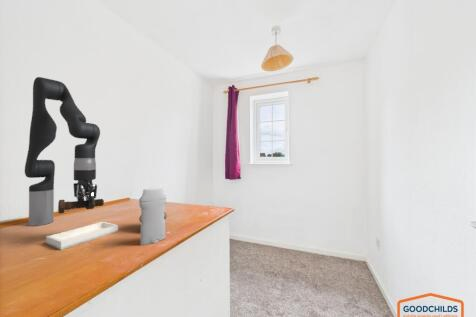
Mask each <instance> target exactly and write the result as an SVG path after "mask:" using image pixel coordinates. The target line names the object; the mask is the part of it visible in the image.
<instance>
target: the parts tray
mask: <svg viewBox="0 0 476 317" xmlns="http://www.w3.org/2000/svg"><path fill="white" fill-rule="evenodd" d="M117 232H119V225H118V224H115V223H112V222H111V223H110V222H106V221H100V222H95V223H91V224H87V225H84V226H81V227H77V228H74V229H69V230H65V231H62V232H58V233H54V234H51V235H50V234H49V235H46V236H45V238H46V242H45V243H46V245H48V246H50V247H53V248H55V249H56V250H60V251H63V250H66V249H69V248H72V247H75V246H79V245H81V244H84V243H86V242H90V241H93V240H96V239H99V238H103V237H105V236H109V235H112V234H114V233H117Z"/></svg>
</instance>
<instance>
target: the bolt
mask: <svg viewBox="0 0 476 317" xmlns="http://www.w3.org/2000/svg"><path fill="white" fill-rule="evenodd" d="M57 204H58V205H57V209H58V210H57V211H58V212H57V213H58V214H60V215H61V214H65V211H69V210H77V209H86V199H84V201H77V200H76V201H75V200H74V201H66V200H65V199H59V200H58V203H57ZM104 204H105V200H104V199H103V198H97V199H96V198H94V199H93V200H92V209H91V210H93V209H95V207H102V206H104Z"/></svg>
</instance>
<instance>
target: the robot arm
mask: <svg viewBox="0 0 476 317" xmlns="http://www.w3.org/2000/svg"><path fill="white" fill-rule="evenodd" d="M32 85H33V86H32V113H31V120H30V125H29V126H30V128H29V139H28V150H27V155H26V160H25V164H24V175H25V177H27V178H30V179H31V178H32V179H33V178H35V179H36V178H44V179H43V180H41V181H40V182H37V183H34V184H31V185H30V186H29V187H28V226H29V227H30V226H31V227H35V226H43V225H48V224H51V223H53V222H54V214H55V213H54V211H55V210H54V209H55V207H54V204H55V197H54V194H55V193H54V192H55V190H54V189H55V188H54V187H55V172H56V171H55V170H56V166H55V165H56V164H55V162H54V161H53V160H52V159H38V157H39V156H40V154H41V153H42V152H43V151H44V150H46V148H48V147H49V146H50V145H51V144H52V143H53V142H54V141H55V140H56V137H57V129H58V126H57V124H56V122H55V120H54V118H52V116H51V114H50V113H49V111H48V109H47V106H46V100H52V101H59V102H61V104H60V106H59V113H60V115H61V117H62V118H63V119H64V120H65V122H66V124H67V128H68V133H69V134H70V135H71V136H72V137H74V138H76V139H83V140H85V142H84V143H79V144H76V145H75V146H74V161H73V180H74V181H77V182H75V183H73V195H74V198H76V201H85V200H86V208H85V210H93V209H92V200H93V199H96V198H97V190H98V184H94V182H93V180H96V178H97V162H96V147H97V145H98V141H99V138H100V136H101V130H100V127H99V126H98V125H97V124H95V123H91V122H87V118H86V116H85V114H83V112H82V110H80V108H79V107H78V106H77V105H76V103H75V101H74V98H73V97H72V94H71V93H70V90H69V89H68V87H67V86H66V84H65V83H63V82H62V81H60V80H59V81H58V80H55V79H52V78H51V79H50V78H46V77H41V76H37V77H36V78H35V79H34V80H33V84H32Z"/></svg>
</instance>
